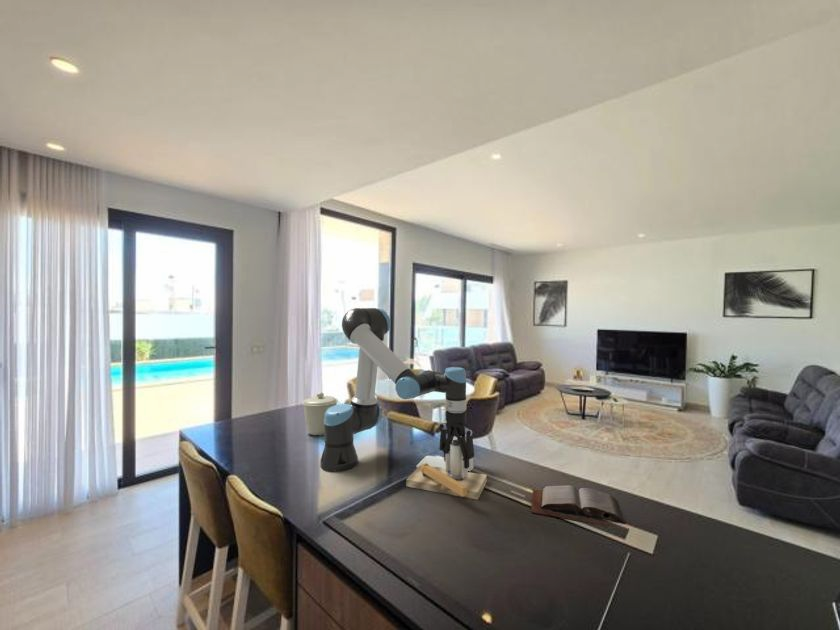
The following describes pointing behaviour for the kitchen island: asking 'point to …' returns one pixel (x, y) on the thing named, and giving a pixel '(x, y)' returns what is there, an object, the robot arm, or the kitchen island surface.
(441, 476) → the wooden bar
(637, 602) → the kitchen island surface
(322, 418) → the canister
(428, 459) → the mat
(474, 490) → the socket board
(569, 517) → the book
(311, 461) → the kitchen island surface
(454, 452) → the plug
